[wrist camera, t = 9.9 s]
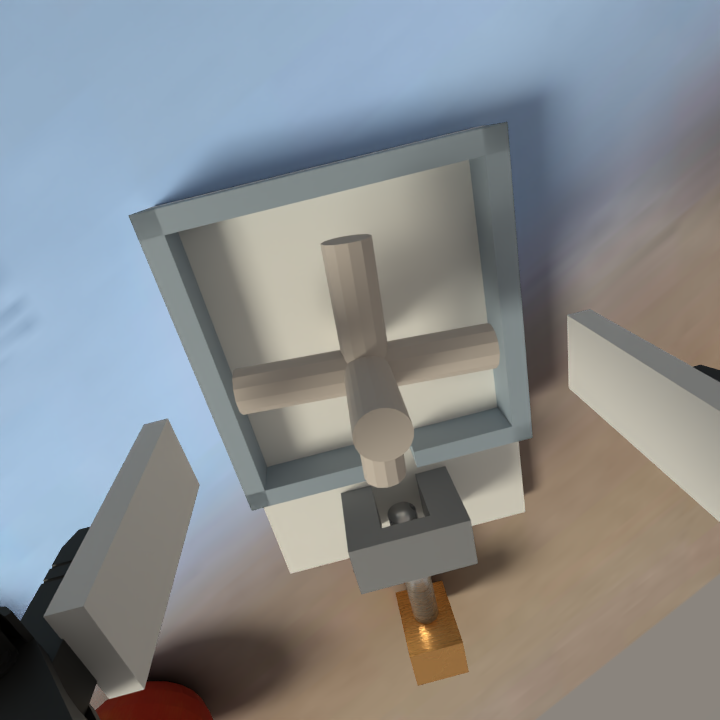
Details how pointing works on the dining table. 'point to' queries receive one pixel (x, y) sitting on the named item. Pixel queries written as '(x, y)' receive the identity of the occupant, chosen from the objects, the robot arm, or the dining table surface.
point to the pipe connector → (366, 364)
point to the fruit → (156, 704)
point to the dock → (319, 335)
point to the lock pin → (428, 620)
